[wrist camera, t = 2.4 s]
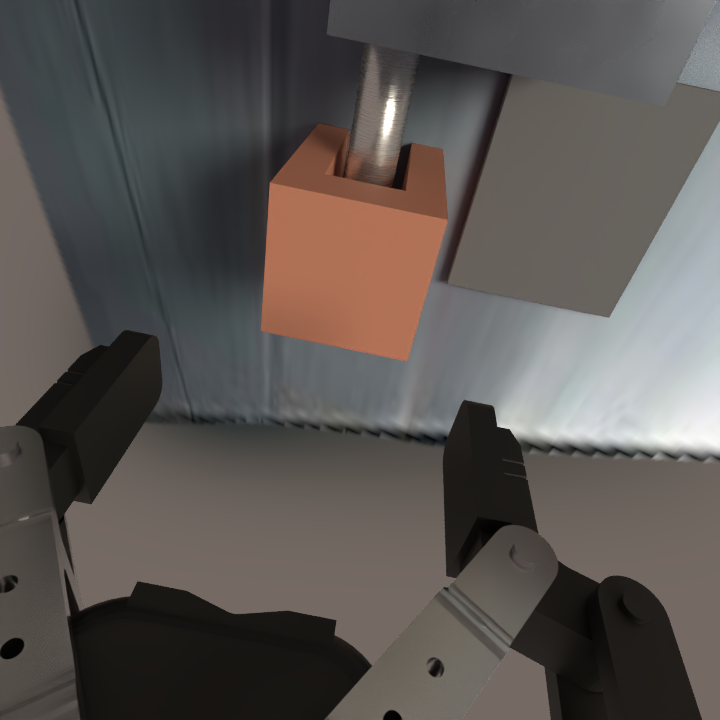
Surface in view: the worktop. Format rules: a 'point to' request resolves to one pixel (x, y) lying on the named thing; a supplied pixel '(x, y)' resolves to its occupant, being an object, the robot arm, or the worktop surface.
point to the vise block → (507, 54)
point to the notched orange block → (351, 248)
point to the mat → (577, 191)
